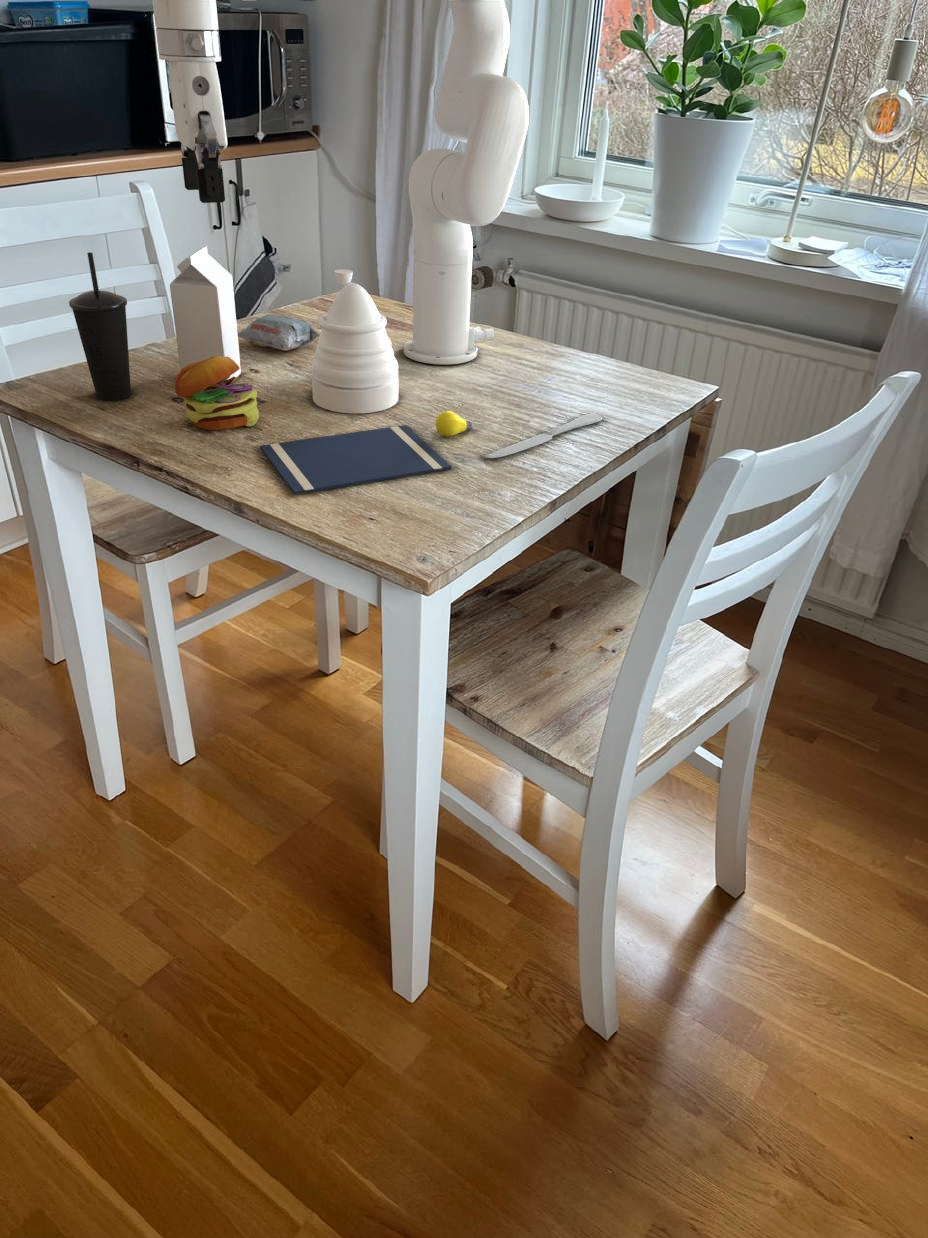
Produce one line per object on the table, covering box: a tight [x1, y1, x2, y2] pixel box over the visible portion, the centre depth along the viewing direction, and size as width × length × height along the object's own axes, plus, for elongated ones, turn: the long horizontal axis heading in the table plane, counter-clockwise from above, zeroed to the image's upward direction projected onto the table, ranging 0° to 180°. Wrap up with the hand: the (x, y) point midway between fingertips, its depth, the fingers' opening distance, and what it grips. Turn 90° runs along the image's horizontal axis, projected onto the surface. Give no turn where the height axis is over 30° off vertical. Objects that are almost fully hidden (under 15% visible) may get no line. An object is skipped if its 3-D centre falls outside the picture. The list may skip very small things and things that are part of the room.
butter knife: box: [483, 412, 603, 459], centre depth 132 cm, size 1×24×3 cm
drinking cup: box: [68, 251, 132, 402], centre depth 133 cm, size 8×8×20 cm
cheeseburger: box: [174, 356, 260, 431], centre depth 130 cm, size 10×11×10 cm
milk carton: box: [169, 245, 242, 380], centre depth 141 cm, size 7×7×19 cm
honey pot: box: [310, 268, 399, 414], centre depth 137 cm, size 13×13×18 cm
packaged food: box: [237, 314, 321, 352], centre depth 159 cm, size 9×12×5 cm
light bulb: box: [435, 410, 474, 438], centre depth 131 cm, size 3×6×4 cm, turn 124°
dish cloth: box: [259, 424, 452, 496], centre depth 123 cm, size 21×15×1 cm
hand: (204, 195), depth 126 cm, fingers open, 9 cm apart
